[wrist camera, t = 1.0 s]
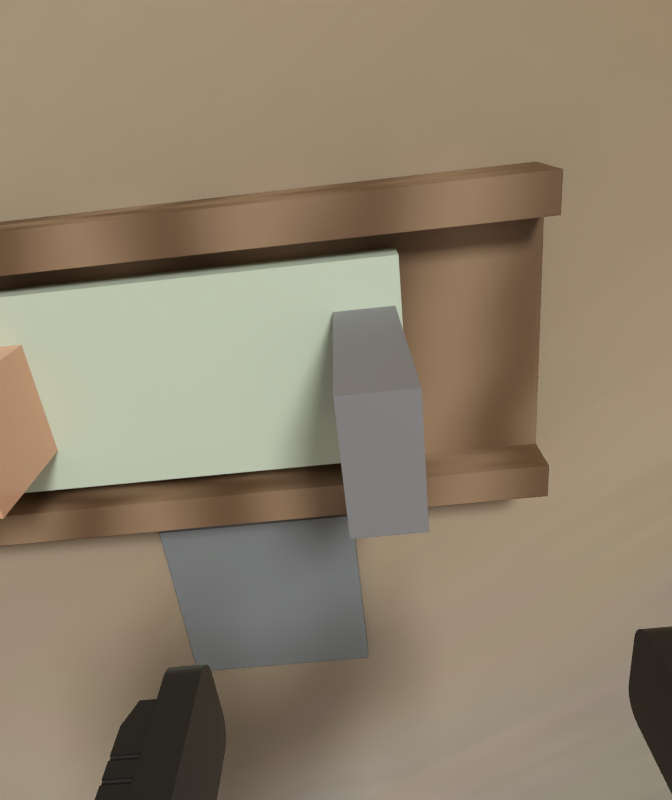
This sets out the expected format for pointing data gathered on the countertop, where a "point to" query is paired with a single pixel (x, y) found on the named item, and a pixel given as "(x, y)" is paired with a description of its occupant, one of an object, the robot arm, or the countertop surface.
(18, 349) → the cube
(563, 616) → the countertop surface
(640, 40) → the countertop surface
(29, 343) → the light green piece
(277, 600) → the pad
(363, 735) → the countertop surface
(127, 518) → the lane board
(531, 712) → the countertop surface
